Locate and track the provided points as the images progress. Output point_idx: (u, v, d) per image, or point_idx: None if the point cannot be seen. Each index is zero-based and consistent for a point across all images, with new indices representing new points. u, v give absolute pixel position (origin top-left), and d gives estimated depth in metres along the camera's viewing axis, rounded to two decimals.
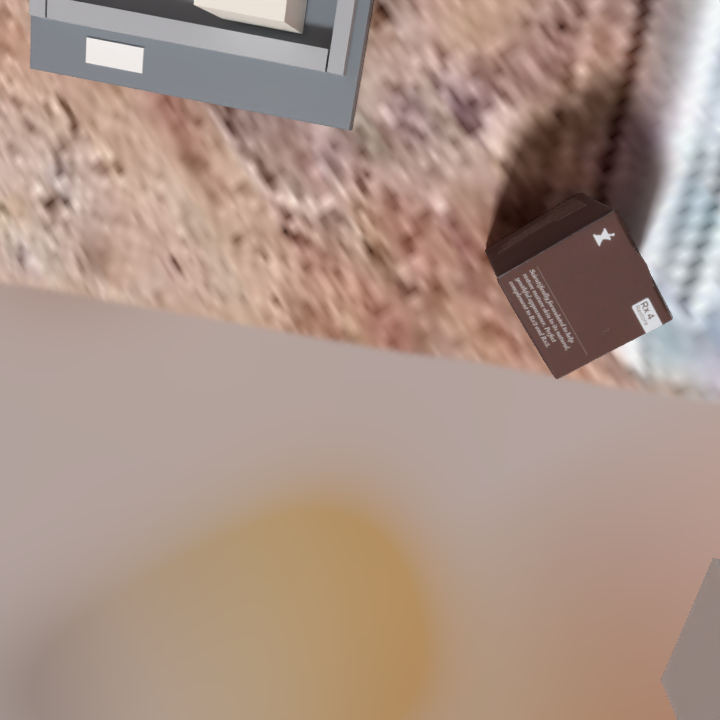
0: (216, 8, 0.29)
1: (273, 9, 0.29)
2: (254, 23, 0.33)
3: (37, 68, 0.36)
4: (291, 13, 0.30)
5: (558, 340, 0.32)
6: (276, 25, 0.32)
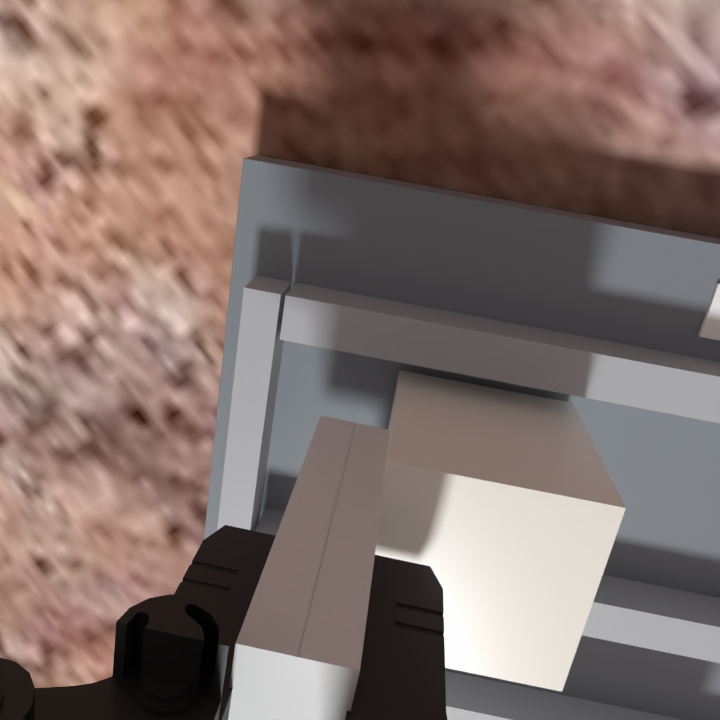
0: None
1: None
2: None
3: None
4: None
5: None
6: None
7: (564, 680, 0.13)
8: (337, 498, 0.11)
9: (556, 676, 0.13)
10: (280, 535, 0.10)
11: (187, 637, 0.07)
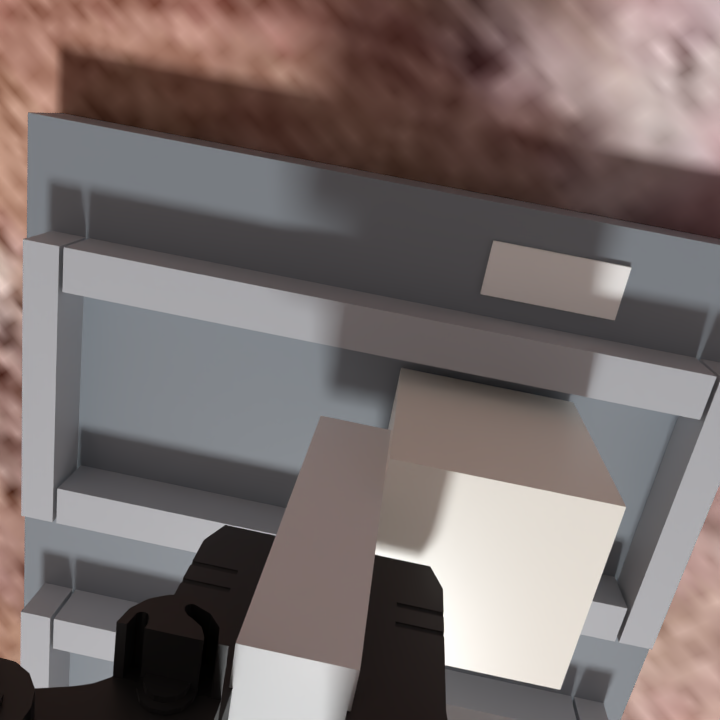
0: None
1: None
2: None
3: None
4: None
5: None
6: None
7: (562, 678, 0.13)
8: (337, 498, 0.11)
9: (554, 674, 0.13)
10: (280, 535, 0.10)
11: (187, 637, 0.07)
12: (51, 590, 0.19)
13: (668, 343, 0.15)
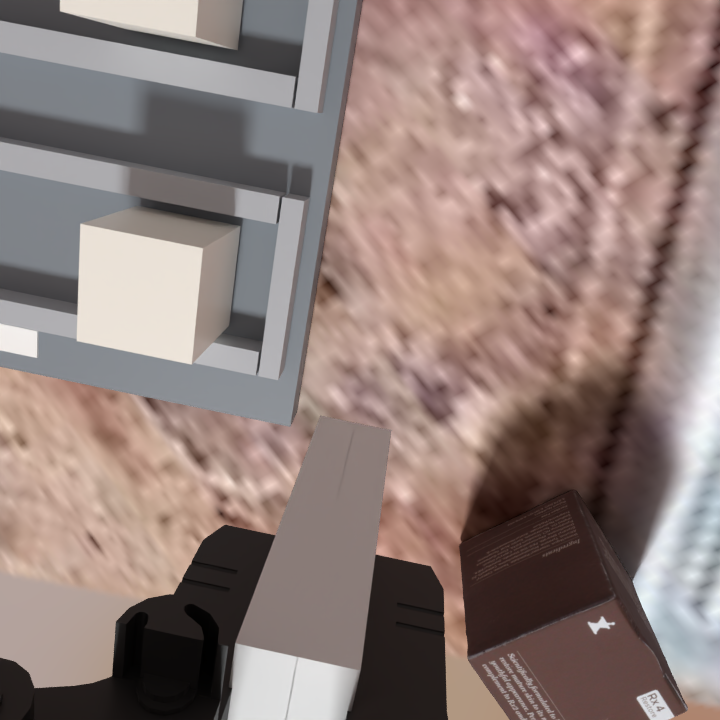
0: (105, 345, 0.23)
1: (178, 351, 0.23)
2: None
3: None
4: (205, 338, 0.24)
5: None
6: None
7: (195, 27, 0.19)
8: (337, 498, 0.11)
9: (189, 23, 0.19)
10: (279, 535, 0.10)
11: (187, 637, 0.07)
12: None
13: None
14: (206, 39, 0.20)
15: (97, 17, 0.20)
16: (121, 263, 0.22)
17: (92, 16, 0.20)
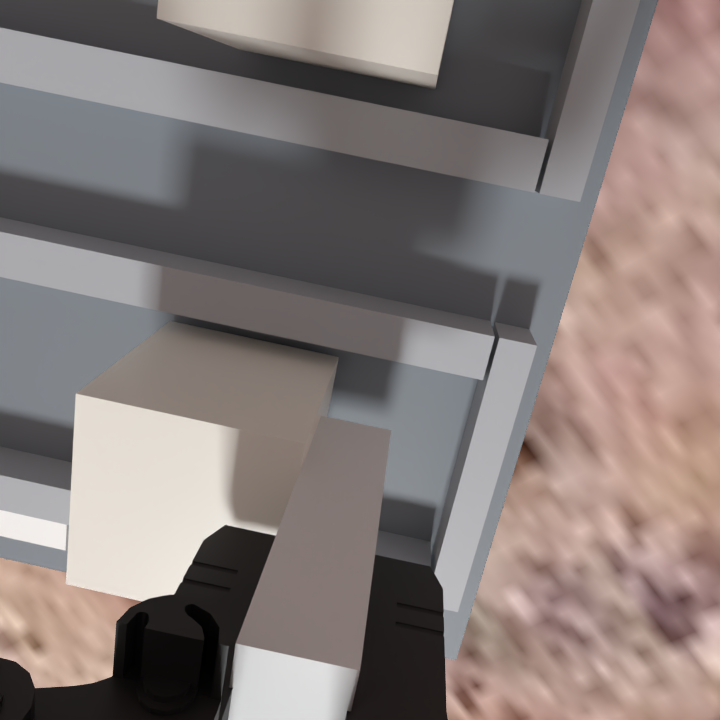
0: (117, 592, 0.13)
1: None
2: None
3: None
4: None
5: None
6: None
7: (440, 55, 0.09)
8: (337, 498, 0.11)
9: (429, 47, 0.09)
10: (280, 535, 0.10)
11: (187, 637, 0.07)
12: None
13: None
14: (436, 77, 0.10)
15: (234, 32, 0.10)
16: (149, 464, 0.12)
17: (224, 30, 0.10)
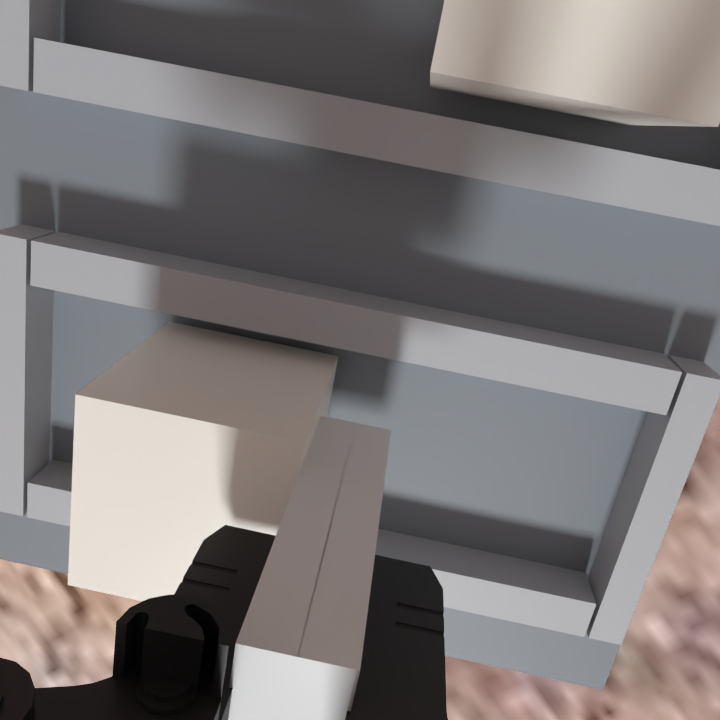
0: (119, 593, 0.13)
1: None
2: None
3: (11, 560, 0.19)
4: None
5: None
6: None
7: None
8: (337, 498, 0.11)
9: (712, 99, 0.09)
10: (280, 535, 0.10)
11: (187, 637, 0.07)
12: (29, 228, 0.16)
13: None
14: (689, 124, 0.10)
15: (509, 85, 0.09)
16: (150, 464, 0.12)
17: (499, 83, 0.09)
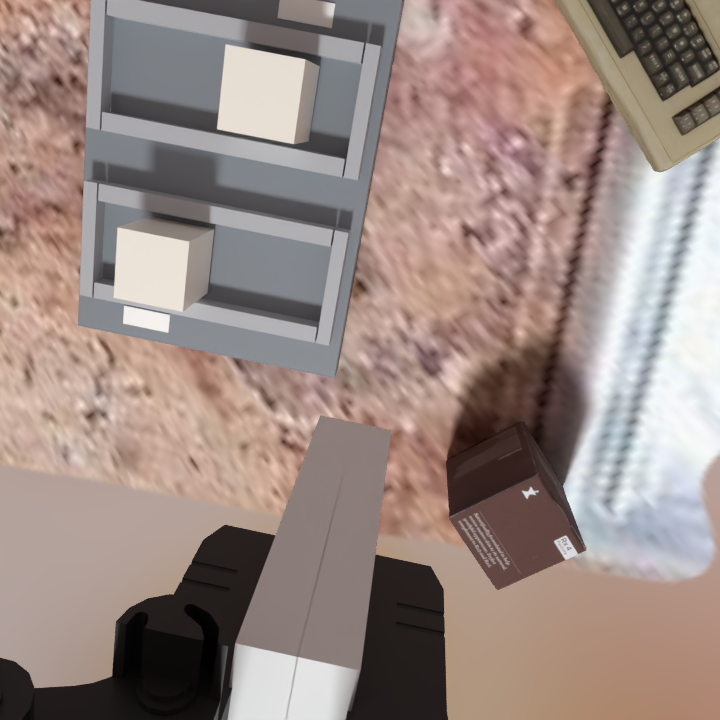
0: (131, 300, 0.38)
1: (174, 303, 0.38)
2: None
3: (84, 325, 0.44)
4: (191, 297, 0.39)
5: (497, 563, 0.41)
6: None
7: (294, 138, 0.35)
8: (337, 498, 0.11)
9: (290, 136, 0.35)
10: (279, 535, 0.10)
11: (187, 637, 0.07)
12: (96, 180, 0.41)
13: (354, 38, 0.37)
14: (297, 142, 0.36)
15: (238, 132, 0.35)
16: (141, 250, 0.37)
17: (235, 132, 0.35)
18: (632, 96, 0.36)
